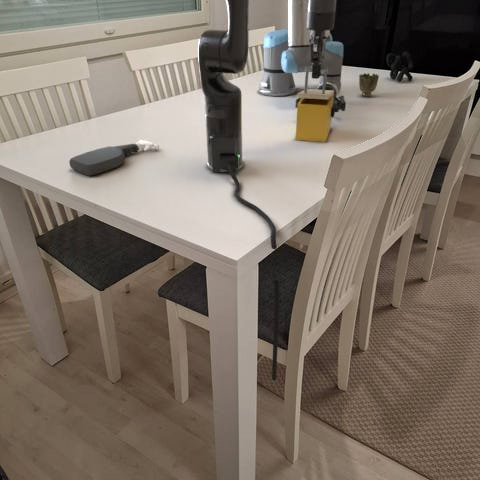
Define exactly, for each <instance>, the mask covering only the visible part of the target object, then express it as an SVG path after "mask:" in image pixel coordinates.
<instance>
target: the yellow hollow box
mask: <svg viewBox="0 0 480 480" xmlns="http://www.w3.org/2000/svg"><path fill="white" fill-rule="evenodd" d="M333 98H334V95H333V96H332V97H331V98H330V99H329V100H327V99H310V98H301V100H300V101H299V103H298V104H297V108H296V123H295V125H296V126H295V128H296V129H295V140H296V141H308V142H309V141H310V142H320V143H326V141H327V138H328V136H329V134H330V131H331V129H332V119H333V117H331V108H332V106H333Z"/></svg>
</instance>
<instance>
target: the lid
mask: <svg viewBox="0 0 480 480" xmlns="http://www.w3.org/2000/svg"><path fill="white" fill-rule="evenodd" d="M320 72H322V73H324V79H323V89H322V90H317V88H316V89H315V88H313V89H312V88H308V83H309V74H310V73H312V67H307V66H306V68H305V72H304V73H305V76H304V77H305V78H304V89H303V90H301V91H300V92H298V93H297V99H298V98H310V99H327V100H329V99H330V98H331V97H332V96H333V95H334V90H325V86H326V76H327V72H328V67H320Z"/></svg>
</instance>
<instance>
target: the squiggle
mask: <svg viewBox="0 0 480 480" xmlns="http://www.w3.org/2000/svg"><path fill="white" fill-rule="evenodd" d="M401 57H402V59H401ZM391 59H392V60H391ZM393 60H394V61H393ZM385 61H386V64H387V67H390V68H391V70H390V72H389V78H390V79H391V80H395V79H396V81H397V82H399V83H400V82H402V81H403V79H404V76H406V78H407V80H408V81H412V80H413V79H414V77H413V75H412V74H411V73H410V72H409V71H410V70H412V69H413V68H414V64H413V61H412V57H411V54H410V53H409V52H408V51H403V53H402V54H401V55H396V54H394V53H392V52H390V53H387V55H386V57H385ZM406 62H407V65H408V66H407V67H405V66H404V65H405V64H406ZM400 70H401V71H400Z"/></svg>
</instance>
